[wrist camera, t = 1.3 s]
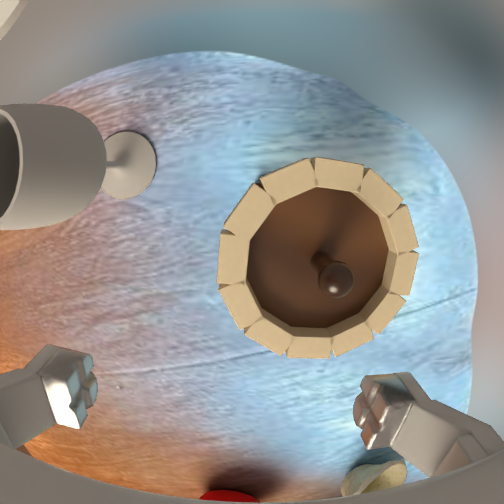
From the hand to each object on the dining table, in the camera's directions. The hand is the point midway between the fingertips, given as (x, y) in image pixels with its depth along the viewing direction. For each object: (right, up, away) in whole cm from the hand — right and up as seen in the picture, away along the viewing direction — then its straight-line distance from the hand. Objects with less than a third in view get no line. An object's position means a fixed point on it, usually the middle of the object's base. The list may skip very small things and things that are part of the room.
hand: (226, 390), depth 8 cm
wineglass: (-13, +13, +22) cm, 29 cm away
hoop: (+6, +3, +15) cm, 16 cm away
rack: (+5, +6, +25) cm, 26 cm away
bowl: (+21, -36, +36) cm, 55 cm away
